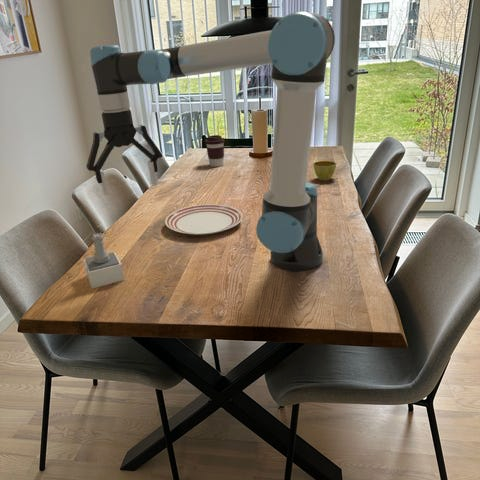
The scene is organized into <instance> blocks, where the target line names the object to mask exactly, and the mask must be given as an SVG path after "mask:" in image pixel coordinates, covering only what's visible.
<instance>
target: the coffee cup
mask: <svg viewBox="0 0 480 480" xmlns="http://www.w3.org/2000/svg"><path fill="white" fill-rule="evenodd" d="M204 143H205V145H206V152H207V158H208V162H209V166H210V167H213V168H214V167H215V168H219V167H222V166H224V164H225V163H224V161H225V160H224V157H225V145H224V143H225V138H224V137H222V135H220V134H218V135H217V134H215V135H214V134H213V135H209V136H207V138H205V140H204Z"/></svg>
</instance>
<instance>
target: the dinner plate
mask: <svg viewBox="0 0 480 480" xmlns="http://www.w3.org/2000/svg"><path fill="white" fill-rule="evenodd" d="M242 220H243V213H242V211H240V210H238V209H237V208H235V207H232V206H230V205H223V204H214V203H208V204H207V203H206V204H205V203H204V204H196V205H194V204H193V205H190V206H185V207H182V208H179V209H176V210H174V211H173V212H171V213H169V215H167V216H166V218H165V220H164V223H165V225H166V227H167V228H168V229H170V230H172V231H174V232H177V233H180V234H184V235H192V236H204V235H205V236H206V235H207V236H208V235H213V234H217V233H221V232H224V231H228V230H230V229H232V228H234V227H236V226H238V225H239V224H240V223H241V222H242Z"/></svg>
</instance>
